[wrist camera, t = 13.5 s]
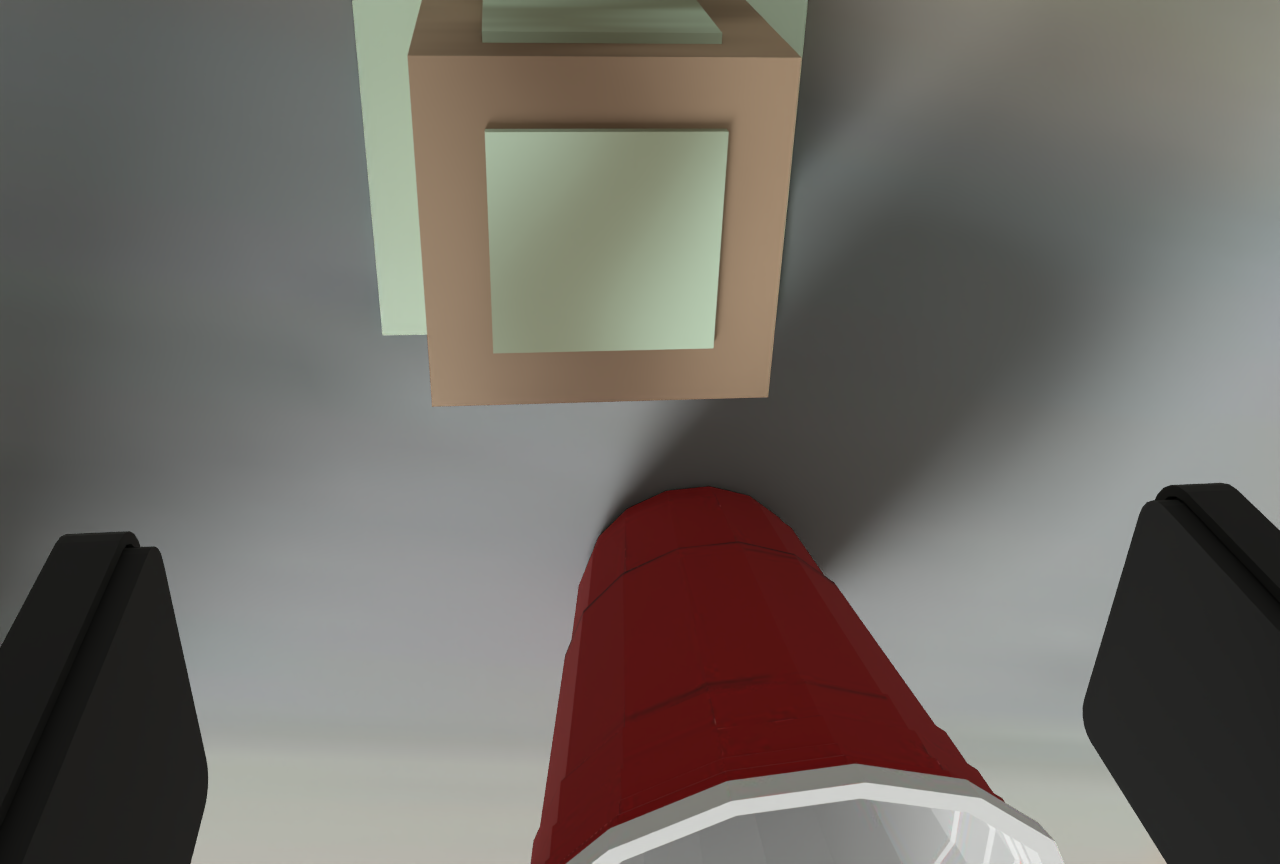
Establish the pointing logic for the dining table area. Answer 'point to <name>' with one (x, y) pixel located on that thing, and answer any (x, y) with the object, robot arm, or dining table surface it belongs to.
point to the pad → (382, 49)
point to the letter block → (600, 197)
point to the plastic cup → (747, 713)
